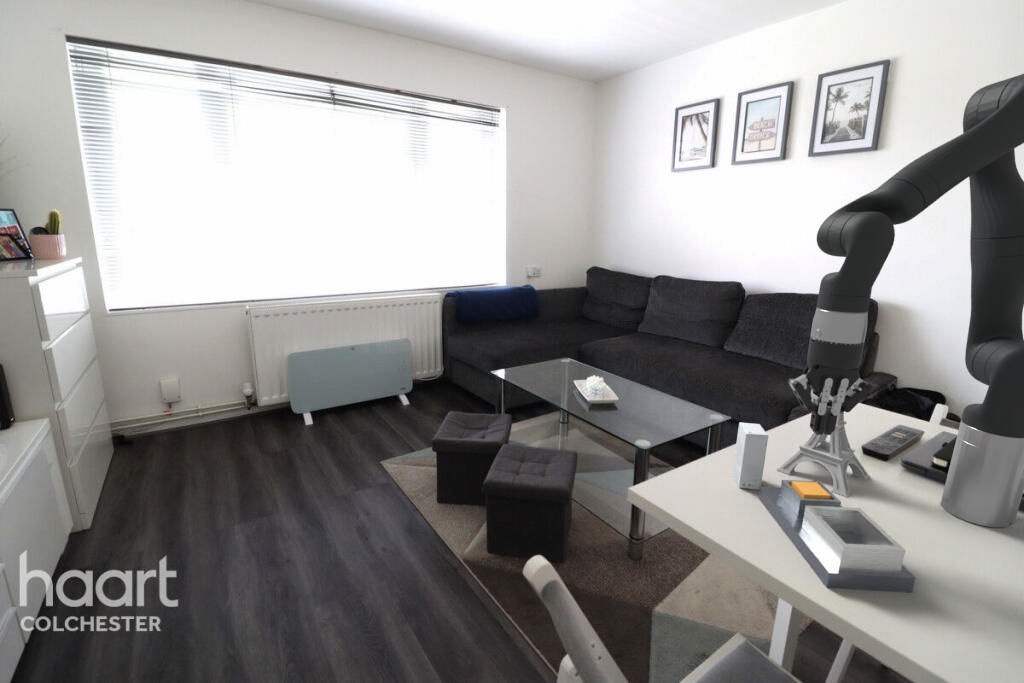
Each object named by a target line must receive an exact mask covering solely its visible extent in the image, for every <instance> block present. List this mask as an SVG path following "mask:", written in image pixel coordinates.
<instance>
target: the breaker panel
mask: <svg viewBox="0 0 1024 683" xmlns="http://www.w3.org/2000/svg"><path fill="white" fill-rule="evenodd" d="M792 481H795V482H817V483H818V484H819V485H820V486H821V487H822V488H823V489H824V490H825V491H826V492H827V493H828V494H829V495H830V500H829V499H807V498H801V496H800V495H799V494H798V493H797V492H796V491H795V490H794V489H793V488H792V487H791V485H792ZM757 498H758V500H759V501H760V502H761V503H762V505H763V507H765V509H766V511H767V512H768V513H769V514H770V515H771V517H772V518H773V519H774V520H775V522H776V524H778V526H779V527H780V529H781V530H782V531H783V532H784V534H785V535H786V536H787V537H788V539H789V540H790V542H791V543H792V544H793V546H794V547H795V548H796V550H797V551H798V552H799V553H800V555H801V556H802V558H804V560H805V562H807V564H808V565H809V566H810V568H811V570H813V572H814V573H815V574H816V576H817V577H818V578H819V580H820V581H821V582H822V584H823V585H824V587H825V588H827V589H828V588H829V589H848V590H862V591H865V590H867V591H880V592H881V591H882V592H897V593H900V592H901V593H913V591H914V586H915V582H916V579H917V578H916V576H915V575H913V573H912V572H910V571H909V570H908V569H907V567H905V566H904V565H903V563H904V559H905V554H906V549H905V548H904V547H903V546H902V545H901V544H900V543H898V541H896V540H895V539H894V538H893V537H892V536H891V535H890V534H889V533H888V532H887V531H886V530H884V529H883V528H882V527H881V526H880V525H879V524H878V523H877V522H876V521H874V520H873V519H872V518H871V517H870V516H869V515H868V514H867V513H866V512H865V511H863V509H862V508H861V507H848V506H847V507H846V506H842V501H841V500H840V499H839V498H838V497H837V496H835V494H834V493H833V492H831V491H830V490H829V489H828V488H827V487H826V485H824V484H823V483H822V482H821V481H820V480H817V481H816V480H794V479H793V480H792V479H782V480H781V484H780V486H762V485H761V486H760V488H759V490H758V496H757Z"/></svg>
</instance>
